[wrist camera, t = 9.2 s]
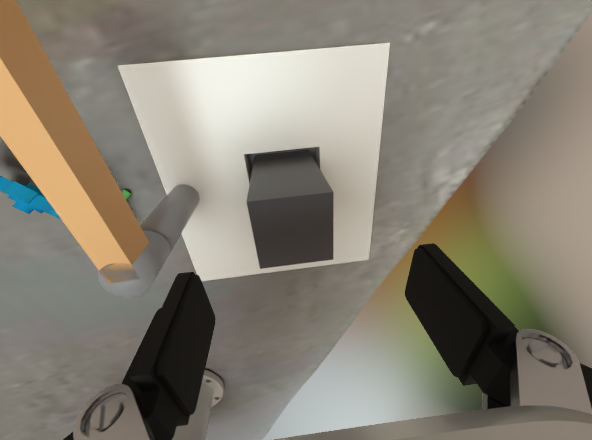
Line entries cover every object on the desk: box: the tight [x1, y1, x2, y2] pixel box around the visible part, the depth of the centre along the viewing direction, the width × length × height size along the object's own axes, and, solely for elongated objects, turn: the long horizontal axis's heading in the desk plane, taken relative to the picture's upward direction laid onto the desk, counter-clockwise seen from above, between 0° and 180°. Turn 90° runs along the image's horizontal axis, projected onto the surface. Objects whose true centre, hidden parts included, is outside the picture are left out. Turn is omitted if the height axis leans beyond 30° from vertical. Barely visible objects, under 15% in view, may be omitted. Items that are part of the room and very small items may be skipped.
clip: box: [0, 0, 170, 298], centre depth 11 cm, size 2×14×3 cm, turn 8°
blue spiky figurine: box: [0, 176, 131, 220], centre depth 19 cm, size 11×6×10 cm
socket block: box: [118, 43, 390, 281], centre depth 20 cm, size 20×19×9 cm
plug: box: [247, 150, 334, 269], centre depth 19 cm, size 5×5×10 cm
